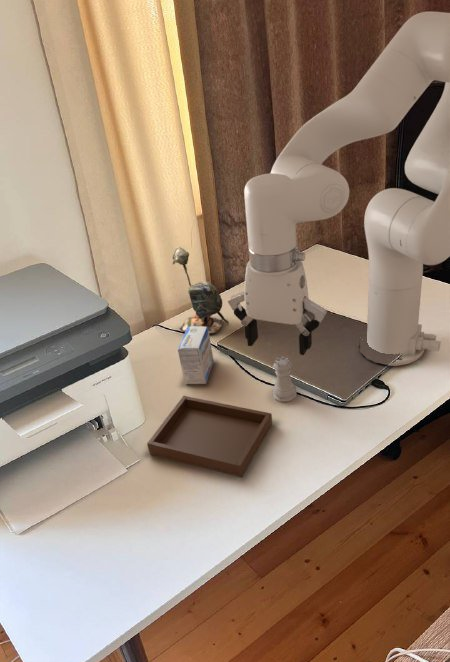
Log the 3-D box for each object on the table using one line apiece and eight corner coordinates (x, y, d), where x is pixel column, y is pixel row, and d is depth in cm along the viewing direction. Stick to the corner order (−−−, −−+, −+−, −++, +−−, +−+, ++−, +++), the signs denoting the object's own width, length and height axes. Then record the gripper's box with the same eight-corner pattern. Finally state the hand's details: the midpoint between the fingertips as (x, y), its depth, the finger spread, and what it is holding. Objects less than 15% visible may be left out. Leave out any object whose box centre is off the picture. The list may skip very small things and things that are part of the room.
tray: (272, 424, 112) (271, 413, 110) (242, 477, 103) (240, 466, 101) (185, 406, 119) (183, 395, 117) (149, 454, 110) (146, 443, 108)
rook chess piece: (269, 401, 117) (266, 366, 112) (276, 387, 120) (273, 352, 115) (293, 404, 115) (291, 369, 110) (299, 389, 119) (297, 354, 114)
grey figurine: (214, 344, 134) (201, 258, 121) (175, 330, 140) (158, 247, 128) (237, 326, 138) (226, 241, 126) (198, 313, 145) (184, 231, 132)
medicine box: (206, 385, 123) (199, 348, 118) (184, 384, 124) (176, 348, 119) (214, 361, 129) (208, 325, 124) (193, 361, 130) (186, 325, 125)
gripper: (333, 251, 99) (332, 342, 110) (233, 241, 106) (241, 328, 116) (317, 273, 94) (319, 366, 105) (214, 261, 101) (224, 350, 111)
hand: (278, 346), depth 110 cm, fingers open, 9 cm apart
